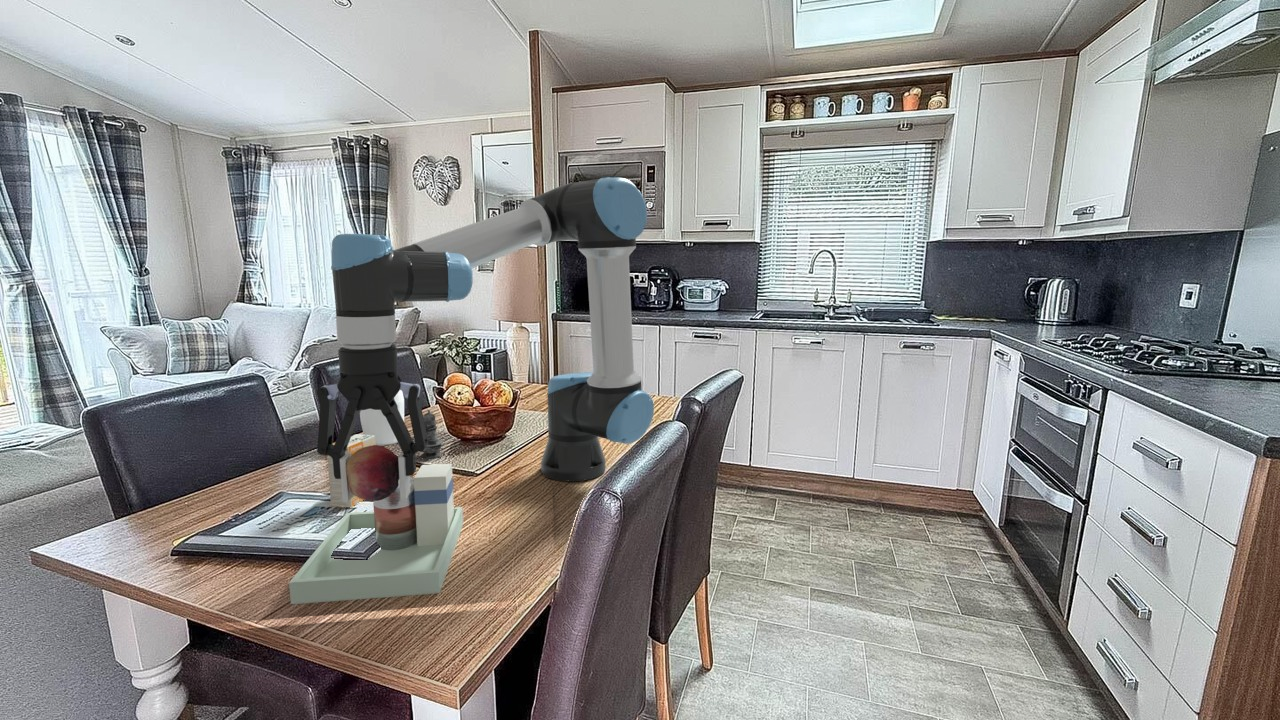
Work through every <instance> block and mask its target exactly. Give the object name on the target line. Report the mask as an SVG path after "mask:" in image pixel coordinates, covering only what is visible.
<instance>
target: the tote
mask: <svg viewBox="0 0 1280 720" xmlns="http://www.w3.org/2000/svg"><path fill="white" fill-rule="evenodd" d="M463 512H464V511H463V506H457V507H455V506H454V519H453V522H452V524H451V527H450V529H449V532H448V535H447V537H446V540H445V543H444V544H441V545H425V546H417V543H416V544H414V545H412V546H410V547H408V548H404V549H400V550H382V549H381V550H380V551H379V552H378V553H376V554H375V555H374V556H372V557H371V558H369V559H368V560H343V559H334V558H331V555H332V553H333V551H334V549H335V548H336V547H337V545H339V543H340V542H341V541H342V539H343V538H344V537H345V536H346V535H347V534H348V533H349V531H350V530H351V529H361V528H375V521H374V511H361V512H360V511H359V512H357V511H356V512H347V513H345V515H344V516H343V517H342V518H341V519H340V520H339V522H338V523H337V524H336V525H335V526H334V527H333V529H331V531H330V533H329V534H328V535H327V536H326V538H325V539H324V540H323V541H322V542H321V544H320V545H319V546H318V547H317V548H316V550H315V551H314V552H313V553H312V554H311V555H310V556H309V558H308V559H307V560H306V562H305V563H304V564H303V565H302V566H301V567H300V569H299V570H298V571H297V572H296V574H295V575H294V576H293V577H292V578H291V580H290V581H289V582H288V587H289V598H290V605H300V604H303V605H304V604H312V603H314V604H316V603H327V602H339V601H340V602H342V601H351V600H352V601H354V600H365V599H368V600H369V599H381V598H394V597H407V596H409V597H410V596H419V595H421V596H422V595H430V594H431V595H434V594H441V591H442V588H443V585H444V582H445V580H446V576H447V573H448V570H449V567H450V565H451V561H452V558H453V556H454V553H455V549H456V546H457V544H458V540H459V538H460V535H461V532H462V529H463V525H464V513H463Z"/></svg>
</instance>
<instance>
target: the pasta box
mask: <svg viewBox="0 0 1280 720" xmlns="http://www.w3.org/2000/svg"><path fill="white" fill-rule="evenodd" d="M413 478H414V489H415V491H414V497H415V508H416V527H417V546H425V545H441V544H444V543H445V540H446V537H447V535H448V532H449V529H450V527H451V524H452V522H453V519H454V507H455V506H454V505H455V503H454V502H455V501H454V476H453V463H443V464H442V463H440V464H439V463H437V464H422V465H421V466H420V468H419V469H418V471H417V472H416V474H415V475H414V477H413Z"/></svg>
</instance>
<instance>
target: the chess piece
mask: <svg viewBox="0 0 1280 720" xmlns="http://www.w3.org/2000/svg"><path fill="white" fill-rule="evenodd" d="M423 418H424V423H425V429H426V434H427V439H428V445H427V446H426V447H425V449H424V450H423V451H421V453H422V454H421V456H419V458H420V457H421V458H423V459H422V460H425V459H431V460H435V459H434V458H437V459H439V458H438V457H440V456H441V457H442V456H443V453H441V452H440V450H441V448H442V446H443V442H444V440H442V439H440V438H438V436H437V429H438V426H437V425H436V424H437V423H436V422H437V421H436V415H435V414H434V413H432V412H431V410H430V409H428V410H427V413H424V414H423ZM441 457H440V458H441ZM421 458H420V459H421Z"/></svg>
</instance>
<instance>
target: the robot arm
mask: <svg viewBox="0 0 1280 720" xmlns="http://www.w3.org/2000/svg"><path fill="white" fill-rule="evenodd" d="M647 210H648V209H647V206H646V202H645V199H644V196H643V194H642V192H641V191H640V189H638V188H637V186H636V185H635V183H634V182H632V181H631V180H629V179H627V178H625V177H617V176H616V177H609V176H608V177H601V178H597V179H596V178H595V179H591V180H585V181H578V182H570V183H565V184H563V185H562V184H561V185H560V186H557V187H555V188H553V189H551V190H548V191H546V192H543V193H540V194H538V195H537V196H534V197H532V198H528V199H525V200H523V201H522V202H521V203H520V205H519V207H518V208H515V209H512V210H508V211H506V212H503V213H501V214H497V215H494V216H492V217H489V218H486V219H483V220H479V221H477V222H474V223H471V224H468V225H466V226H461V227H459V228H456V229H453V230H451V231H447V232H444V233H441V234H438V235H435V236H432V237H429V238H426V239H424V240H421V241H417V242H415V243H412V244H410V245H406V246H403V247H399V248H397V249H394V246H393V245H392V241H391V238H390V237H389V236H387V235H382V234H381V235H379V234H367V233H340V234H337V235H335V236H334V237H333V238H332V240H331V241H332V242H331V267H330V269H331V271H332V273H331V274H332V281H333V293H334V301H335V302H334V304H335V319H336V320H335V321H336V336H337V337H336V340H337V344H339V345H342V346H341V347H339V349H338V351H337V353H338V366H339V373H340V374H339V380H338V381H337V383H334V384H328V383H327V384H324V385H322V386H320V387H318V388H317V389H316V395H317V398H318V401H319V420H318V434H317V446H316V447H317V448H316V452H317V454H318V455H320V456H324V455H325V456H327V455H328V456H330V457H331V458H332V459H333V470H334V477H335V479H341V485H342V499H343V502H349V501H350V499H351V498H352V497H353V496H354V495H353V494H352V493H351V491H350V489H349V484H348V477H347V470H346V464H347V462H348V460H349V458H350V457H351V456H352V453H346V454H345V452H346V451H347V446H348V443H349V441H350V438H351V436H353V432H354V429H355V426H356V423H357V421H358V419H359V417H360V411H361V410H366V409H374V410H381V412H382V414H383V415H384V416H385V417H386V419H387V421H388V423H389V425H390V427H391V429H392V431H393V433H394V435H395V437H396V439H397V441H398V442H397V444H398V445H399V447H400V449H401V450H402V452H401V453H400V454H399V456H398V462H399V480H400V498H401V499H406V498H407V497H408V495H409V493H410V477H411V476H412V477H413V476H414V474H415V473H416V471H417V460H416V459H417V458H416V457H417V456H416V454H417V453H419V452H422V451H423V450H424V449H425V447H426V446H427V445H428V439H427V434H426V429H425V423H424V418H423V416H424V414H423V409H422V403H421V393H422V388H423V387H422V384H421V383H420V382H415V383H408V382H403V380H402V379H401V377H400V375H399V363H398V349H397V348H398V347H396V345H394V344H393V343H395V342H396V341H397V330H396V329H397V328H396V309H395V308H396V307H395V305H396V304H395V303H404V302H406V303H407V302H447V303H448V302H450V301H460V300H464V299H466V298H467V297H468V296H469V294H470V293H471V291H472V288H473V283H474V282H473V269H475V268H477V267H479V266H482V265H485V264H487V263H489V262H491V261H492V262H493V261H495V260H496V259H500V258H502V257H504V256H506V255H510V254H512V253H515V252H518V251H520V250H522V249H525V248H526V247H529V246H532V245H535V246H537V247H543V246H546V245H548V244H552V243H556V242H562V241H564V242H565V241H577V248H578V251H579V252H580V253H581V254H582V255H583V256H584V257H585V258H586V271H587V288H588V289H587V290H588V302H589V303H588V304H589V305H588V306H589V321H590V339H591V350H592V351H591V352H592V353H591V354H592V369H593V370H592V371H593V372H574V373H566V374H564V373H563V374H558V375H554V376H552V377H551V378H550V379H549V381H548V383H547V384H548V385H547V393H546V396H547V428H548V430H547V431H548V434H547V436H548V438H547V443H546V444H545V445H546V446H545V449H544V451H543V454H542V457H541V461H540V462H541V463H540V472H541V474H542V475H543V476H544V477H546V478H548V479H551V480H554V481H560V482H579V481H580V482H581V481H588V480H593V479H594V478H598V477H600V476H601V475H603V474H604V473H605V472H606V458H605V454H604V451H603V449H602V446H601V443H600V440H599V439H600V438H602V439H605V440H608V441H610V442H612V443H620V444H626V445H628V444H633V443H635V442H637V441H639V439H641V438H642V437H643V436H644V435H645V434H646V433H647V430H648V429H649V428H650V426H651V423H652V422H653V418H654V412H655V405H654V400H653V398H652V397H651V396H650V393H648V392H646V391H645V390H643V388H642V385H643V384H642V377H641V375H639V374H638V373H637V372H636V371H635V369H634V368H635V366H634V364H635V363H634V346H633V345H634V341H633V323H632V322H633V321H632V318H633V317H632V299H631V277H630V274H631V273H630V256H631V254H632V253H633V252H634V250H635V249H637V238H638V237H639V236H640V235H642V233H643V232H644V228H646V224H647V221H648V211H647ZM399 390H401V391H402V392H403V397H404V399H406V400H407V401H406V402H407V408H408V413H409V419H410V424H411V429H412V433H413V434H412V435H413V437H412V435H411V434H410V432H409V429H408V427H407V425H406V423H405V420H404V421H403V419H402V417H401V415H400V413H399V411H398V406H397V404H396V402H395V400H394V397H395V396H396V395H397V393H398V392H399ZM339 392H340V394H341V395H342V396H343V397H344V398H345V399H346V401H347V402H348V403H347V406H346V408H345V411H344V417H343V419H342V423H341V425H340V428H339V431H338V434H337V437H336V439H335V442H334V434H335V419H336V404H337V403H336V400H337V398H338V397H339ZM413 438H414V439H413ZM333 443H335V444H334V445H333Z"/></svg>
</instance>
